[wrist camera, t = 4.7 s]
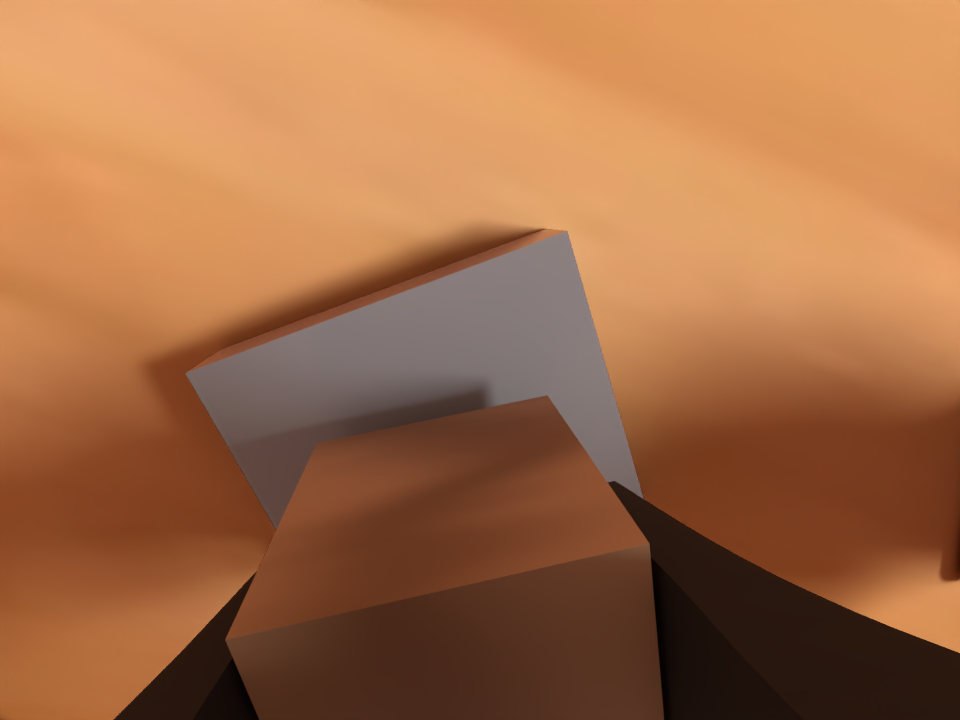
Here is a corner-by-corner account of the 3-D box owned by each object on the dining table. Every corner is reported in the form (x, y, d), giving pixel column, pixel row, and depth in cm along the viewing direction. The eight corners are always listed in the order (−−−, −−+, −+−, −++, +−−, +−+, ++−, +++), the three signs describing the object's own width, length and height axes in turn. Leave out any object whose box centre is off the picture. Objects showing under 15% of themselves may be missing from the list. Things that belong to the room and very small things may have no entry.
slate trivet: (541, 228, 13) (567, 230, 11) (622, 497, 16) (658, 547, 14) (228, 344, 13) (185, 373, 11) (363, 595, 16) (352, 662, 14)
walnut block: (547, 395, 11) (649, 542, 6) (574, 581, 12) (672, 820, 7) (316, 443, 10) (224, 639, 6) (373, 627, 12) (339, 905, 7)
